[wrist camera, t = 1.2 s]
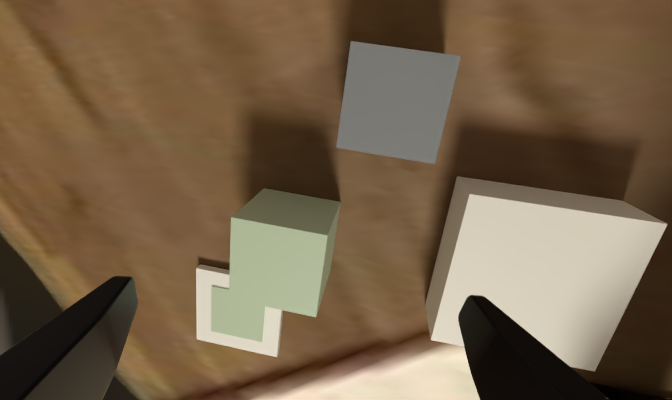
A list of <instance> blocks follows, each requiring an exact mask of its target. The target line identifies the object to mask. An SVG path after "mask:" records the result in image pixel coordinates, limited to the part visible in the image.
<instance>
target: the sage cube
mask: <svg viewBox="0 0 672 400" xmlns="http://www.w3.org/2000/svg"><path fill="white" fill-rule="evenodd" d="M340 203H341V202H338V201H332V200H327V199H321V198H316V197H310V196H305V195H299V194H294V193H288V192H283V191H277V190H271V189H266V188H264V189H263V190H261V191H260V192H259V193H258V194H257V195H256V196H255V197H254V198H252V199H251V200H250V201H249V202H248V203H247V204H246V205H244V206H243V207H242V208H241V209H240V210H239V211H238V212H237V213H235V214H234V215H233V216H232V217H231V240H230V272H229V299H232V300H237V301H242V302H247V303H251V304H256V305H261V306H266V307H270V308H275V309H280V310H284V311H289V312H294V313H299V314H303V315H308V316H313V317H316V316H317V312H318V309H319V306H320V302H321V299H322V296H323V293H324V289H325V286H326V283H327V279H328V276H329V273H330V269H331V262H332V256H333V249H334V243H335V236H336V229H337V223H338V216H339V210H340Z"/></svg>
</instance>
